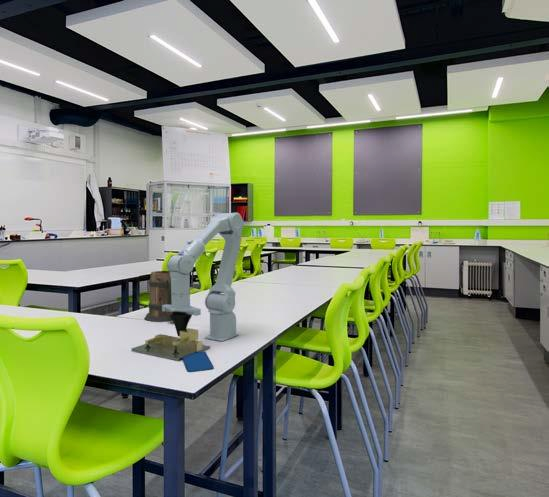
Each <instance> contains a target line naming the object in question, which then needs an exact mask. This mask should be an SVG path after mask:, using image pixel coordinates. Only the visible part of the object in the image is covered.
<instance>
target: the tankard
mask: <svg viewBox="0 0 549 497" xmlns="http://www.w3.org/2000/svg"><path fill="white" fill-rule="evenodd" d="M149 277H150V278H149V281H148V286H149V296H148V297H149V301H148V313H147V314H146V315H145V317H144V318H143V321H145V320H146V322H149V321H150V322H149V323H167V322H173V321H172V319H171V318H170V315H171V314H173V312H169V311H162V305H166V304H167V305H172V299H171V277H170V272H169V271H168V270H157V271H151V273H150V276H149Z"/></svg>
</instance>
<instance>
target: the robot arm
mask: <svg viewBox="0 0 549 497" xmlns="http://www.w3.org/2000/svg"><path fill="white" fill-rule="evenodd" d="M244 223H245V222H244V220H243V217H242V216H241V214H240V213H239V212H229V213H227V212H225V213H221V212H218V213H215V214H214V215H213V216H212V217H211V218H210V220H209V223H208V224H207V226H206V227H205V228H204V229H203V231H202V232H201V233H200V235H199V236H198V237H197V238H192V239H188V240H187V241H186V245H185V246H183V248H182V249H179V251H178V253H177V254H175V255H172V256H170V258H169V260H168V262H167V263H166V269H167V271H169V272H170V277H171V299H172V305H167V304H166V305H162V311H169V312H173V314H171V315H170V318H171V319H172V321H171V322H172V323H173V325H174V328H175V331H176V334H177V337H180V331H182V330H185V329H188V325H189V322H190V320H191V318H192V316H195V317H197V316H200V315H201V313H202V312H201V308H199V307H195V306H191V291H190V290H191V284H190V280H191V279H190V278H191V277H190V276H191V275H190V273H191V272H193V269H194V266H195V263H196V261H197V260H198V259H199V258H200V257H201V255H203V254H204V252H205V251H206V247H205V246H207V244H209V243H210V242H211V240H212V239H213V238H214V237H216V235H218V234H219V235H220V236H221V237H222V238H223V239H224V241H225V242H224V246H223V250H222V256H221V259H220V264H219V268H218V273H217V277H216V282H215V284H213V285H212V286H211V287H210V288H209V290H208V293H207V295H206V297H205V298H204V305H205V308H206V309H207V310H208V313H209V335H207V336H205V337H204V339H207V340H213V341H218V342H224V341H226V340H230V339H232V338H235V337H237V336H239V333H237V316H236V314H235V312H234V311H233V310H234V309H235V307H236V291H235V290H234V288H233V287H232V283H233V280H234V274H235V269H236V265H237V262H238V257H239V252H240V247H241V243H242V233H243V229H244V225H245V224H244Z"/></svg>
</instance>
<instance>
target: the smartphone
mask: <svg viewBox="0 0 549 497" xmlns="http://www.w3.org/2000/svg"><path fill="white" fill-rule="evenodd" d="M181 361H182V362H183V365H184V368H185V370H186V372H187V373H195V372H197V373H198V372H204V371H205V372H206V371H211V370H214V369H215V367H214V365H213V362H212V361H211V359H210V357H209V356H208V354H207V352H206V351H202V352H195V353H193V354H191V355H189V356H186V357H184V358H183V359H182V360H181Z"/></svg>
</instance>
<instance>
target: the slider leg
mask: <svg viewBox="0 0 549 497" xmlns="http://www.w3.org/2000/svg"><path fill="white" fill-rule="evenodd" d="M179 338H180V339H179V340H176V341H173V345H174V353H177V345H179V344H181V343H184V342H192V341H198V340H199V329H195V328H188V327H187V328H186V329H185V330H182V331H180V336H179Z"/></svg>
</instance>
